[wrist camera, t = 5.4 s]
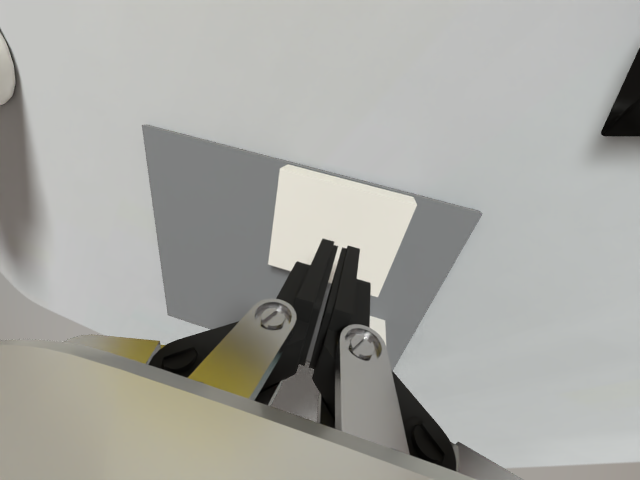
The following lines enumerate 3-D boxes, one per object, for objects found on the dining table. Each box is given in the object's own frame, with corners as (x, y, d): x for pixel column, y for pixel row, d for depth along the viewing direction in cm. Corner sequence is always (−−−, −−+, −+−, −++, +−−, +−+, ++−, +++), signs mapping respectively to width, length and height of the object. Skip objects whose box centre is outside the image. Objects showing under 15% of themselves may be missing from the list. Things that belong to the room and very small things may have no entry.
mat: (479, 211, 13) (482, 213, 13) (383, 382, 21) (383, 386, 20) (147, 124, 15) (141, 125, 14) (171, 311, 22) (167, 315, 22)
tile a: (417, 204, 12) (279, 168, 12) (377, 297, 15) (268, 264, 15) (412, 195, 13) (289, 163, 14) (377, 281, 16) (277, 252, 17)
